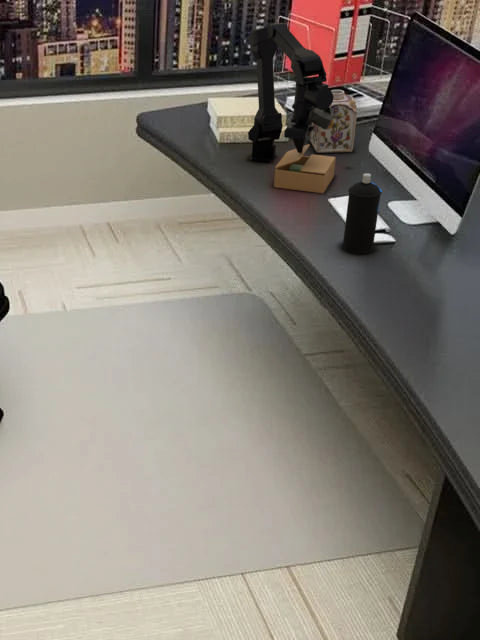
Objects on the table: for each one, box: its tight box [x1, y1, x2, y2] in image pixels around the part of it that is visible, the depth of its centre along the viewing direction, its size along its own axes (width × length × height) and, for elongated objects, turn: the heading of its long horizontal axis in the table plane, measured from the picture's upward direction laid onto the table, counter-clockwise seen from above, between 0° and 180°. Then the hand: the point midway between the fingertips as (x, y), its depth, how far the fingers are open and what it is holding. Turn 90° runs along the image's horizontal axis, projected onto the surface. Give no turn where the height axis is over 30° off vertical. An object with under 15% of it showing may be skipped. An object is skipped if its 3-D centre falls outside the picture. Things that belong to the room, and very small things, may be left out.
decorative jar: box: [309, 89, 358, 154], centre depth 318 cm, size 12×12×18 cm
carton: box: [273, 154, 336, 194], centre depth 298 cm, size 15×14×6 cm
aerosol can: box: [341, 173, 383, 255], centre depth 255 cm, size 8×8×20 cm
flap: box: [274, 143, 311, 169], centre depth 297 cm, size 7×14×1 cm, turn 155°
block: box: [289, 164, 305, 173], centre depth 299 cm, size 4×4×4 cm
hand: (299, 152), depth 295 cm, fingers closed, pressing on flap
